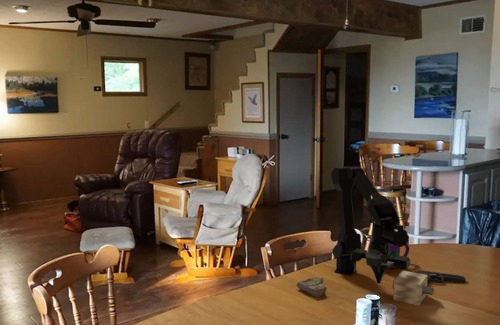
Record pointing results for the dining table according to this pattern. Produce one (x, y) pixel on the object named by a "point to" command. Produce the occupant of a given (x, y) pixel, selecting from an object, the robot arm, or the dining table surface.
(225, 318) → the dining table surface
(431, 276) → the handgun
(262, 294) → the dining table surface
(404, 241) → the robot arm
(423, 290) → the pin
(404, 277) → the block
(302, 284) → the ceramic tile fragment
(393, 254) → the mug
